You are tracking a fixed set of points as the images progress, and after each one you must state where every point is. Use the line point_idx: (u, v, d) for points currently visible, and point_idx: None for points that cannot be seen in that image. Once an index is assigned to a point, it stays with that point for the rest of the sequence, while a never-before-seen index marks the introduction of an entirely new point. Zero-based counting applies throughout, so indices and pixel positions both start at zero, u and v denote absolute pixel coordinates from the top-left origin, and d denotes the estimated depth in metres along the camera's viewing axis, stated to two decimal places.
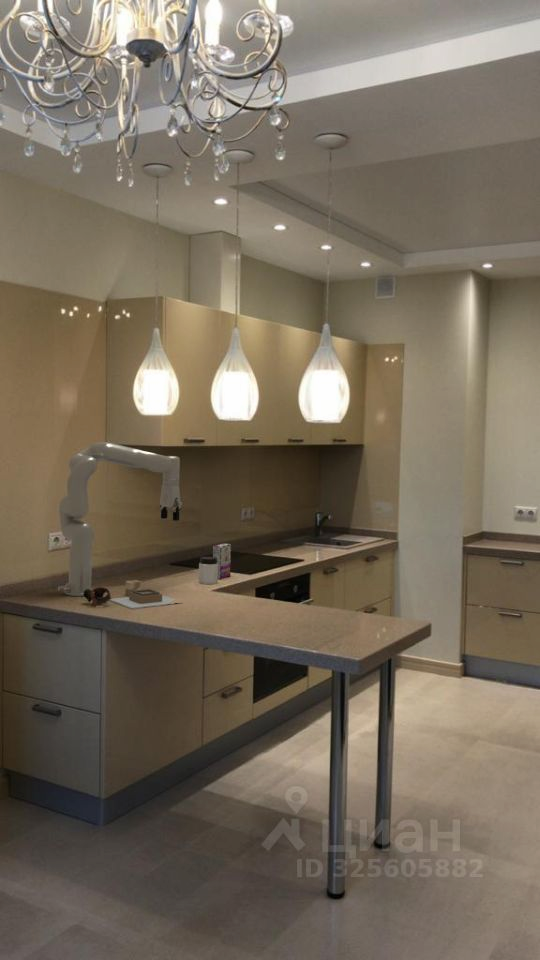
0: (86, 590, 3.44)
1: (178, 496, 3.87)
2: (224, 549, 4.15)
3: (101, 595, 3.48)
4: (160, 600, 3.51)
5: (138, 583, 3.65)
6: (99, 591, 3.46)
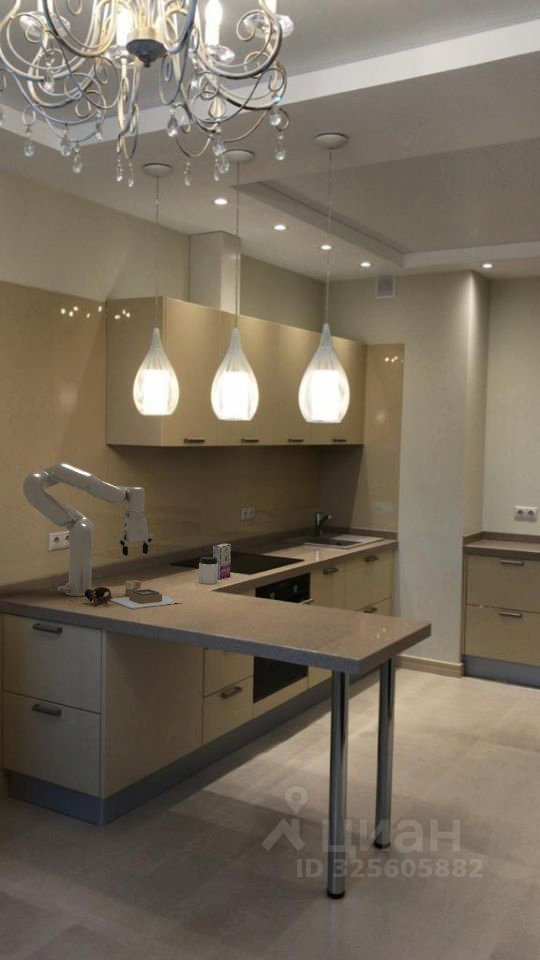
0: (87, 590, 3.44)
1: None
2: (224, 549, 4.15)
3: (102, 595, 3.48)
4: (160, 600, 3.51)
5: (138, 583, 3.65)
6: (100, 591, 3.47)
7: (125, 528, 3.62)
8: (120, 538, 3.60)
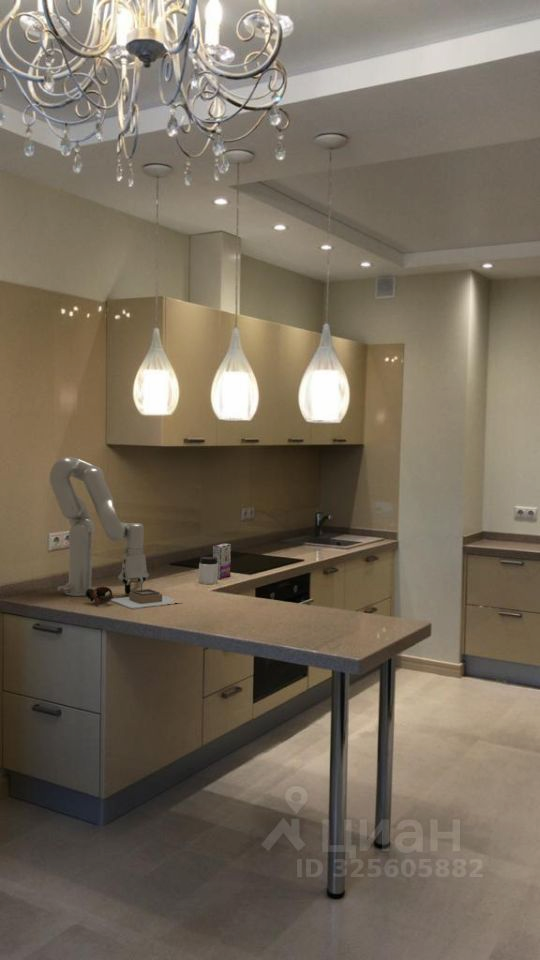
0: (88, 590, 3.45)
1: None
2: (224, 549, 4.15)
3: (103, 594, 3.49)
4: (160, 600, 3.51)
5: (138, 583, 3.65)
6: (101, 590, 3.48)
7: (124, 565, 3.63)
8: (121, 578, 3.62)
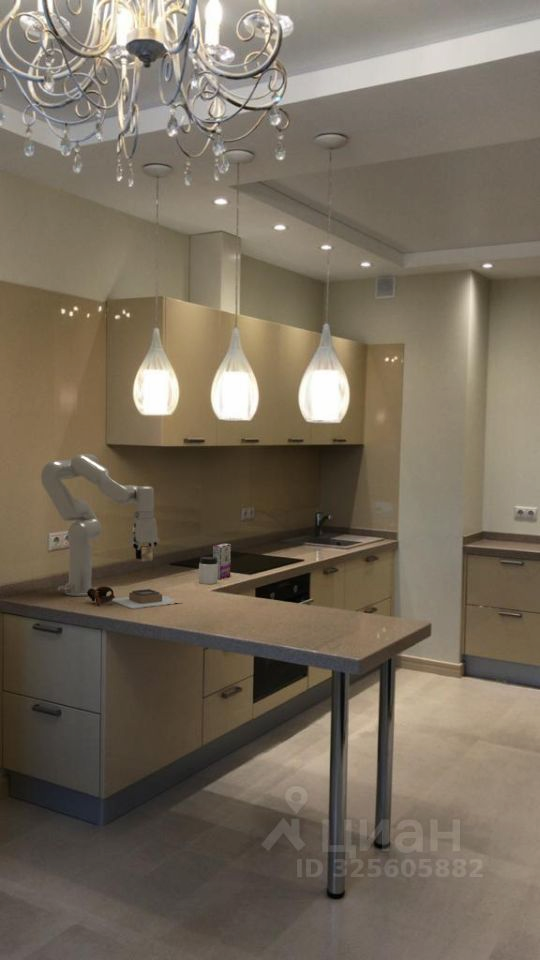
0: (90, 589, 3.46)
1: None
2: (224, 549, 4.15)
3: (104, 594, 3.50)
4: (160, 600, 3.51)
5: (149, 548, 3.54)
6: (103, 590, 3.49)
7: (134, 529, 3.52)
8: (132, 542, 3.51)
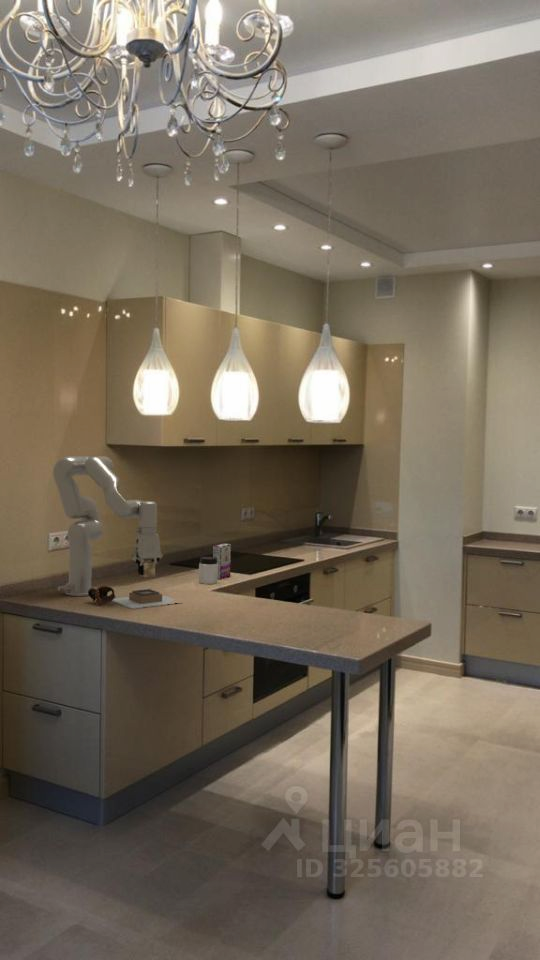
0: (91, 589, 3.46)
1: None
2: (224, 549, 4.15)
3: (105, 594, 3.50)
4: (160, 600, 3.51)
5: (152, 563, 3.50)
6: (103, 590, 3.49)
7: (137, 544, 3.48)
8: (134, 558, 3.47)
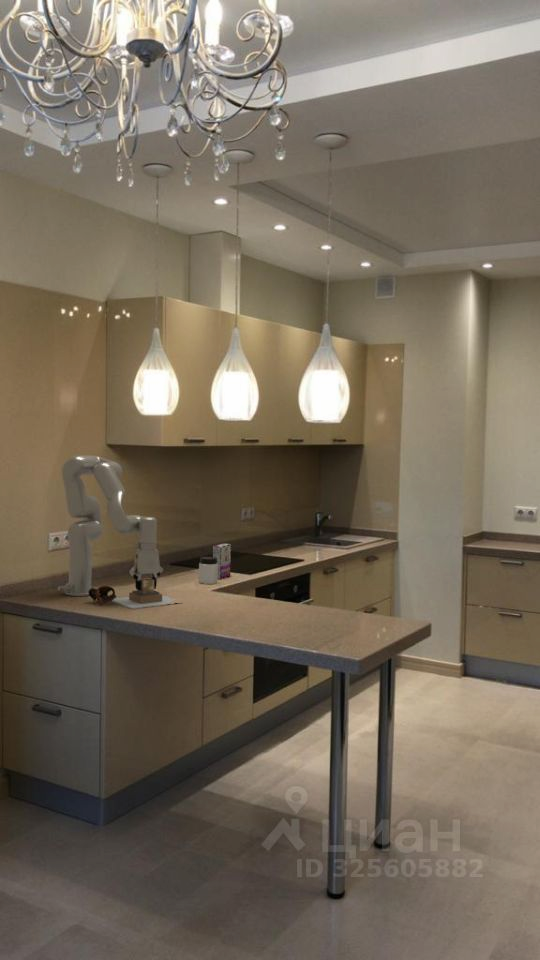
0: (91, 589, 3.47)
1: None
2: (224, 549, 4.15)
3: (106, 594, 3.51)
4: (160, 600, 3.51)
5: (151, 581, 3.51)
6: (104, 590, 3.49)
7: (136, 560, 3.48)
8: (132, 573, 3.47)
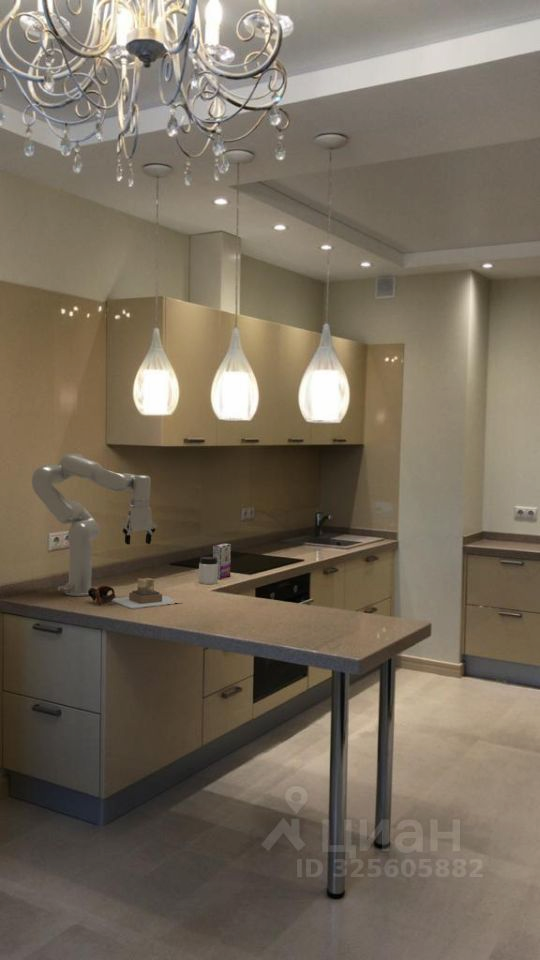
0: (91, 589, 3.47)
1: None
2: (224, 549, 4.15)
3: (105, 594, 3.51)
4: (160, 600, 3.51)
5: (151, 581, 3.51)
6: (103, 590, 3.50)
7: (129, 516, 3.56)
8: (123, 526, 3.54)
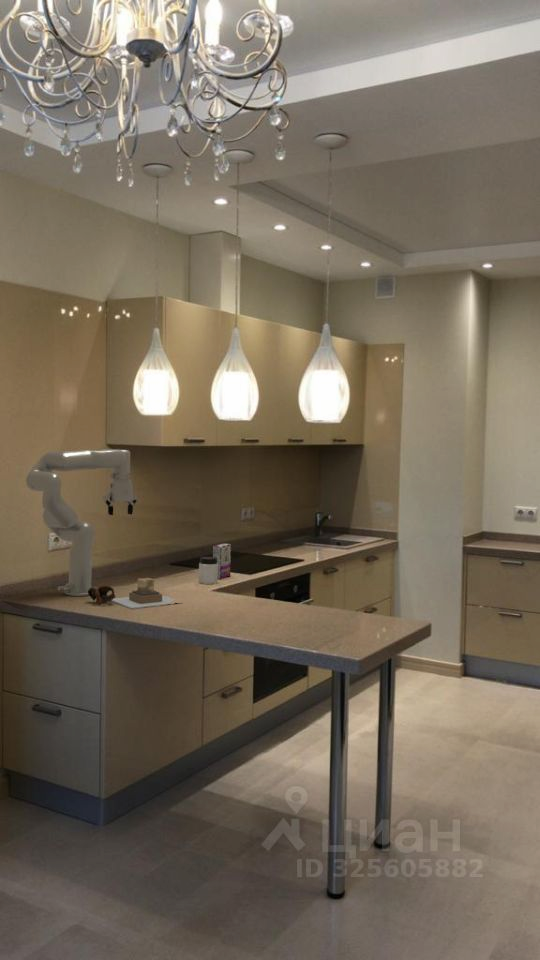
0: (90, 589, 3.47)
1: None
2: (224, 549, 4.15)
3: (105, 593, 3.51)
4: (160, 600, 3.51)
5: (151, 581, 3.51)
6: (103, 590, 3.50)
7: (111, 489, 3.78)
8: (106, 498, 3.76)
